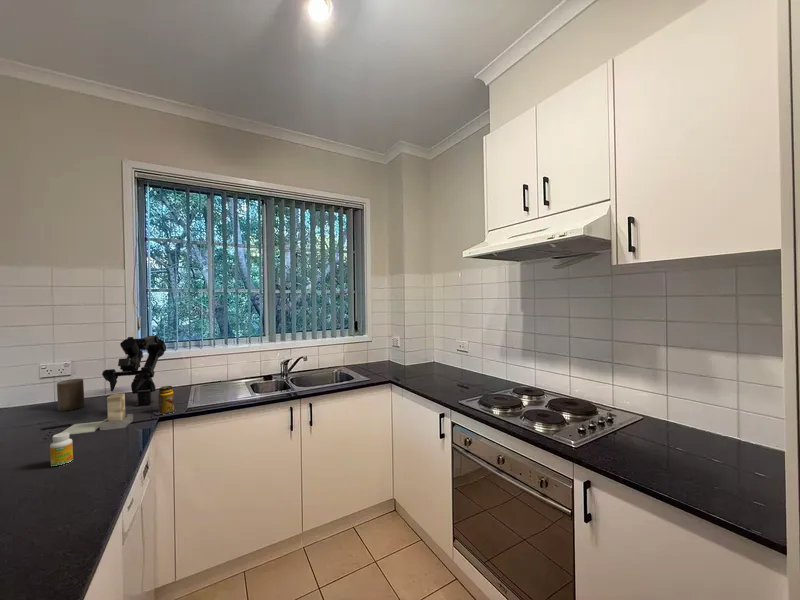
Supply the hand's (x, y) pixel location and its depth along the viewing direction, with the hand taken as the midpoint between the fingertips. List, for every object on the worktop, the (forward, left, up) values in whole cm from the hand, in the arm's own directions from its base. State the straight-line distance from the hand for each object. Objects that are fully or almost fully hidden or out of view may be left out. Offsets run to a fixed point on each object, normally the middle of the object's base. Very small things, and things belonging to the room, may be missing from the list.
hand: (123, 389), depth 155 cm
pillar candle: (-28, -33, -14) cm, 46 cm away
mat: (+7, -12, -13) cm, 19 cm away
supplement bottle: (+42, -2, -14) cm, 44 cm away
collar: (+8, 0, -13) cm, 15 cm away
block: (+8, 0, -13) cm, 15 cm away
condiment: (-4, +14, -14) cm, 20 cm away
